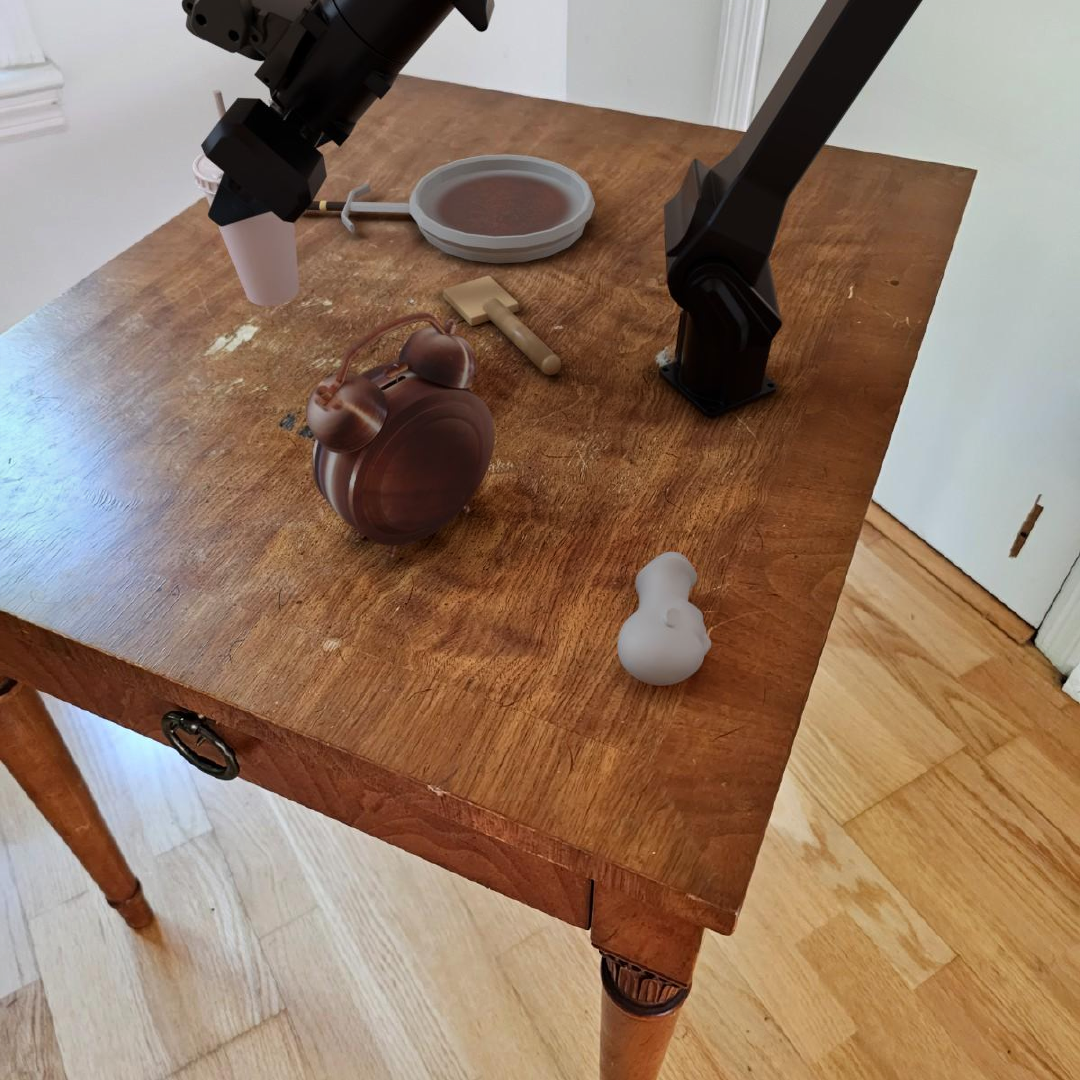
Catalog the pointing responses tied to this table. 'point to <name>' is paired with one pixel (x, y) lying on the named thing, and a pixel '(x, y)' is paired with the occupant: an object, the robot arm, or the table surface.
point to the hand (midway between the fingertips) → (231, 196)
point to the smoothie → (254, 240)
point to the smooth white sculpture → (664, 624)
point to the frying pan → (490, 207)
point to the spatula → (500, 318)
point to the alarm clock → (402, 436)
